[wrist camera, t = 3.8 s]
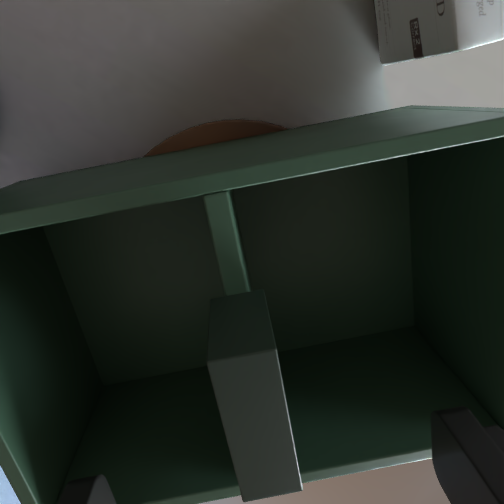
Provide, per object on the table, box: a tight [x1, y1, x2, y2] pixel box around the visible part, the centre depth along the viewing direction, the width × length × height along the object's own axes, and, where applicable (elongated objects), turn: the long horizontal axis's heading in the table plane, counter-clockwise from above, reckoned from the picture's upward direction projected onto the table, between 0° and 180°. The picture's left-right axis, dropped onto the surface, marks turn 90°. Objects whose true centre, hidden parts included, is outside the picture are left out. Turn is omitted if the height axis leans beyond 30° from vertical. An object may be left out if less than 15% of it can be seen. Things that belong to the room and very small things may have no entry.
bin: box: [0, 105, 504, 504], centre depth 17 cm, size 20×13×12 cm, turn 100°
